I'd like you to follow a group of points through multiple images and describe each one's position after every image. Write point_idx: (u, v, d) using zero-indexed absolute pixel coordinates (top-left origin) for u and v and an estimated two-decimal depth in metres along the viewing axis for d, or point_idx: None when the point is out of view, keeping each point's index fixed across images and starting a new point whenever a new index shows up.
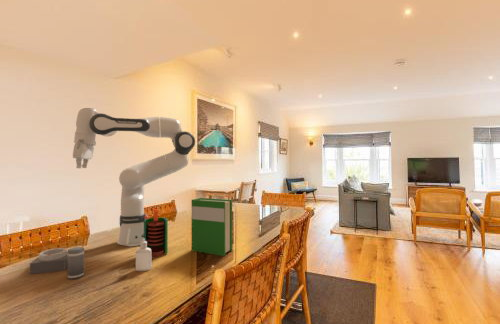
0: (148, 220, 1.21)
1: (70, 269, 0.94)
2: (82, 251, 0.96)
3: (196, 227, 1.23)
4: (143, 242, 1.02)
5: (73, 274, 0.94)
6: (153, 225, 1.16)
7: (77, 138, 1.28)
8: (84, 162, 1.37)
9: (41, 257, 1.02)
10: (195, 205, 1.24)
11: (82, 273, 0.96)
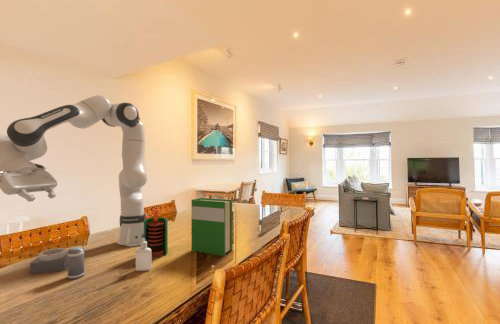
0: (148, 220, 1.21)
1: (70, 269, 0.94)
2: (82, 251, 0.96)
3: (196, 227, 1.23)
4: (143, 242, 1.02)
5: (73, 274, 0.94)
6: (153, 225, 1.16)
7: None
8: (49, 192, 1.03)
9: (41, 257, 1.02)
10: (195, 205, 1.24)
11: (82, 273, 0.96)
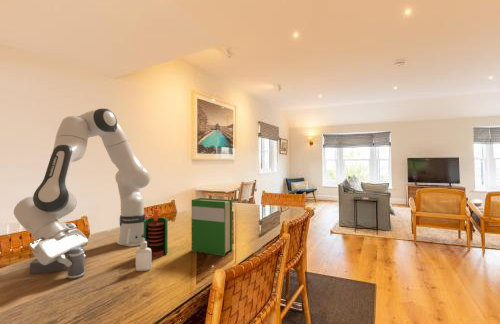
0: (148, 220, 1.21)
1: (70, 269, 0.94)
2: (82, 251, 0.96)
3: (196, 227, 1.23)
4: (143, 242, 1.02)
5: (73, 274, 0.94)
6: (153, 225, 1.16)
7: None
8: None
9: None
10: (195, 205, 1.24)
11: (82, 273, 0.96)
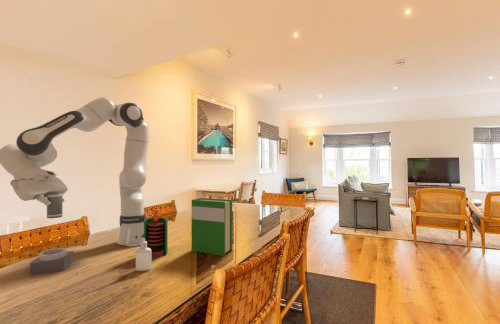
0: (148, 220, 1.21)
1: (48, 209, 1.02)
2: (60, 193, 1.05)
3: (196, 227, 1.23)
4: (143, 242, 1.02)
5: (52, 213, 1.02)
6: (153, 225, 1.16)
7: None
8: None
9: (41, 257, 1.02)
10: (195, 205, 1.24)
11: (60, 214, 1.05)
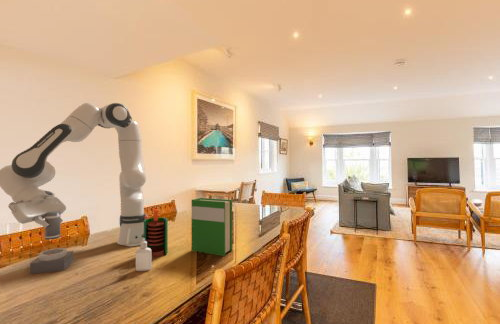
0: (148, 220, 1.21)
1: (46, 230, 1.03)
2: (58, 214, 1.05)
3: (196, 227, 1.23)
4: (143, 242, 1.02)
5: (50, 235, 1.03)
6: (153, 225, 1.16)
7: None
8: None
9: (41, 257, 1.02)
10: (195, 205, 1.24)
11: (58, 234, 1.05)
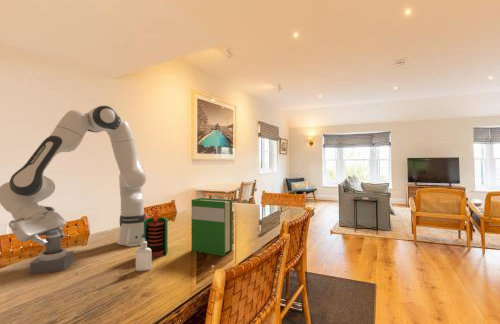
0: (148, 220, 1.21)
1: (47, 249, 1.03)
2: (59, 233, 1.06)
3: (196, 227, 1.23)
4: (143, 242, 1.02)
5: None
6: (153, 225, 1.16)
7: None
8: None
9: (41, 257, 1.02)
10: (195, 205, 1.24)
11: None
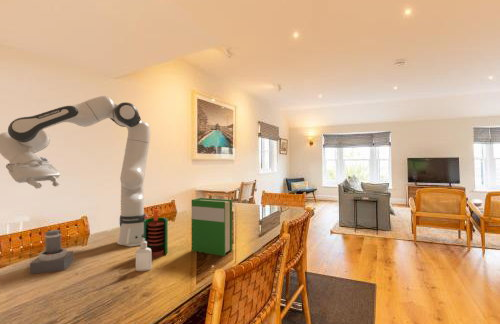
0: (148, 220, 1.21)
1: (47, 249, 1.03)
2: (59, 233, 1.06)
3: (196, 227, 1.23)
4: (143, 242, 1.02)
5: None
6: (153, 225, 1.16)
7: None
8: (53, 181, 1.19)
9: (41, 257, 1.02)
10: (195, 205, 1.24)
11: None
